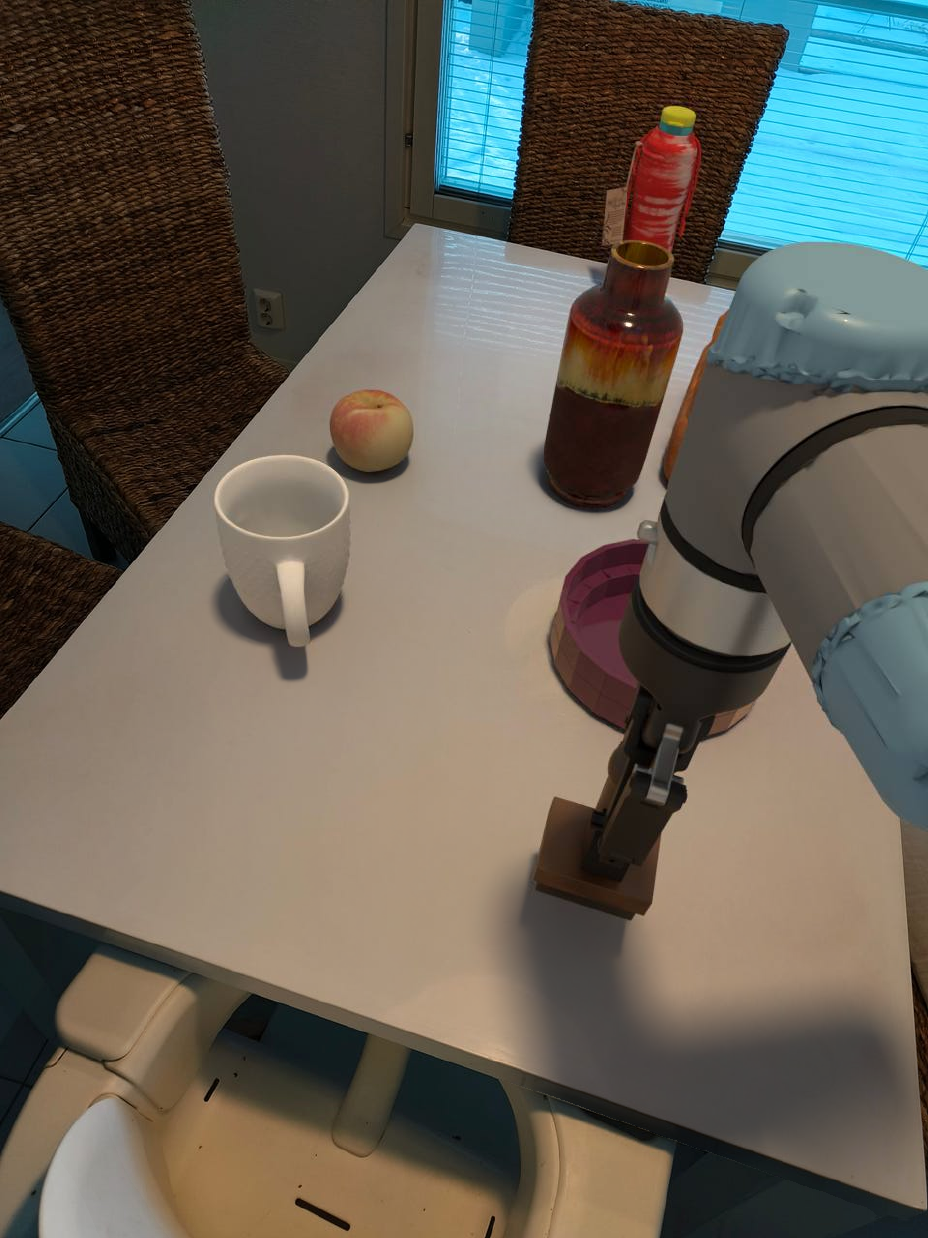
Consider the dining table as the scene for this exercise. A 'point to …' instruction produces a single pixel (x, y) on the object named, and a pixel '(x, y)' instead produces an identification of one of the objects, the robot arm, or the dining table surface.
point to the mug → (285, 539)
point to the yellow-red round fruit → (371, 430)
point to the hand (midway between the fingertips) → (606, 847)
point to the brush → (567, 849)
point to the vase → (612, 377)
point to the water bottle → (657, 183)
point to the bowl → (603, 632)
